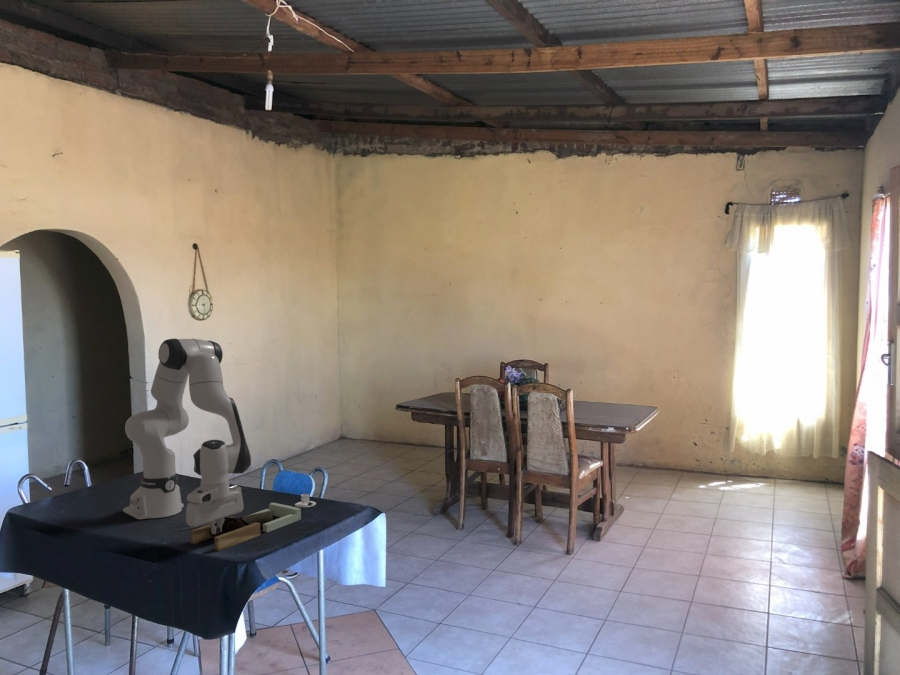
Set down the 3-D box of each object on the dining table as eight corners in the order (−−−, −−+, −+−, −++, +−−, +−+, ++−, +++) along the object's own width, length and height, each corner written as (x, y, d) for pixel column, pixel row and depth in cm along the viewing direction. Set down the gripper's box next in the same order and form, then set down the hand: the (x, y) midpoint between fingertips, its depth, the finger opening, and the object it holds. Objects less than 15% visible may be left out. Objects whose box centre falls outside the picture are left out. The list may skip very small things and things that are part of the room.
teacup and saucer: (304, 510, 261) (303, 499, 260) (289, 507, 265) (288, 496, 265) (320, 504, 268) (320, 493, 268) (305, 501, 272) (305, 491, 272)
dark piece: (265, 523, 245) (264, 505, 244) (276, 529, 239) (276, 510, 239) (208, 537, 230) (207, 518, 230) (218, 543, 225) (218, 523, 224)
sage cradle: (239, 525, 243) (238, 514, 242) (273, 513, 256) (273, 502, 256) (267, 532, 235) (266, 520, 235) (301, 519, 249) (300, 508, 248)
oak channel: (190, 542, 226) (190, 530, 226) (232, 527, 240) (232, 516, 240) (219, 550, 218) (218, 538, 218) (260, 535, 233) (260, 523, 232)
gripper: (234, 482, 235) (235, 522, 236) (182, 497, 218) (183, 540, 219) (246, 484, 232) (248, 525, 233) (195, 499, 215) (196, 543, 216)
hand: (216, 532), depth 226 cm, fingers closed
